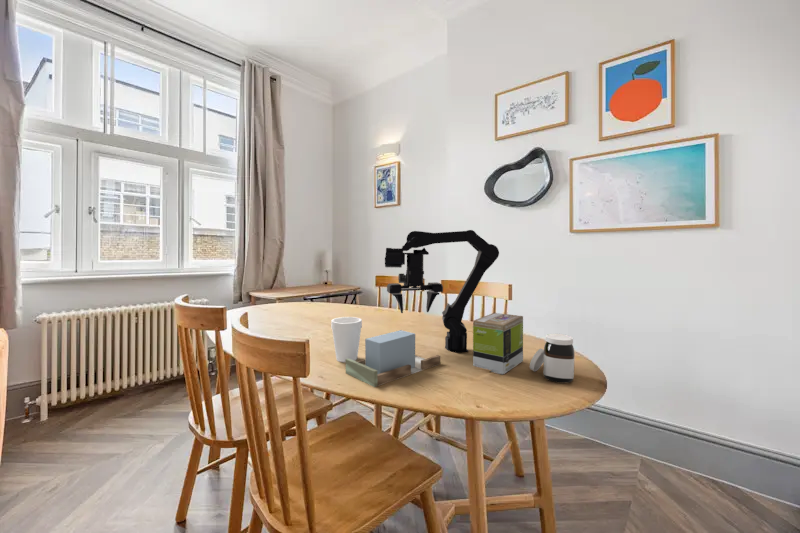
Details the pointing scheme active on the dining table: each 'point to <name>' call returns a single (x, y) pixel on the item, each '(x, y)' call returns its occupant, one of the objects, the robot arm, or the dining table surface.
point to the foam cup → (346, 337)
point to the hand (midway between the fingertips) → (414, 312)
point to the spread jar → (556, 358)
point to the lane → (374, 379)
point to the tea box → (498, 342)
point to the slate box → (390, 351)
